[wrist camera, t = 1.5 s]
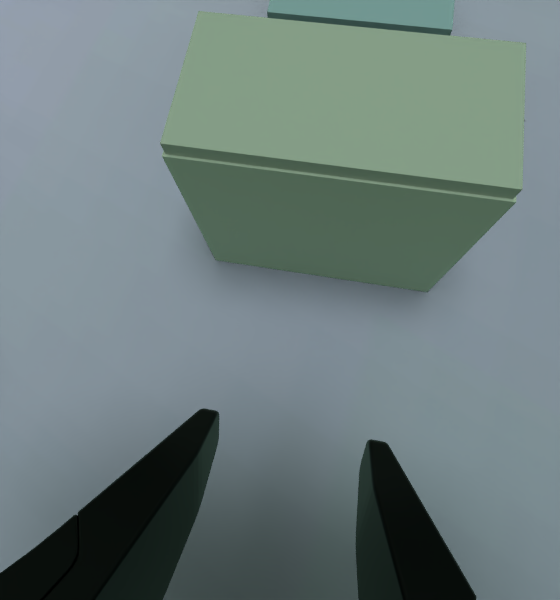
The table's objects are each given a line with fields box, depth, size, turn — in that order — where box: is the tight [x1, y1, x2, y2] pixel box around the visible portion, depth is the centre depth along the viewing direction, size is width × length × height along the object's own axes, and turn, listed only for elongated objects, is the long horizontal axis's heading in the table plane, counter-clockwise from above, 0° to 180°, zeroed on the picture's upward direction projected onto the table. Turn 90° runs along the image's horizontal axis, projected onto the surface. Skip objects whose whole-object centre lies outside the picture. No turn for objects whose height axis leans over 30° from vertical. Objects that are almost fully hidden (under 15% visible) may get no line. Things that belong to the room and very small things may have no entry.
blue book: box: [267, 0, 455, 36], centre depth 21 cm, size 4×7×10 cm, turn 80°
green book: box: [160, 11, 526, 292], centre depth 20 cm, size 6×12×11 cm, turn 80°
